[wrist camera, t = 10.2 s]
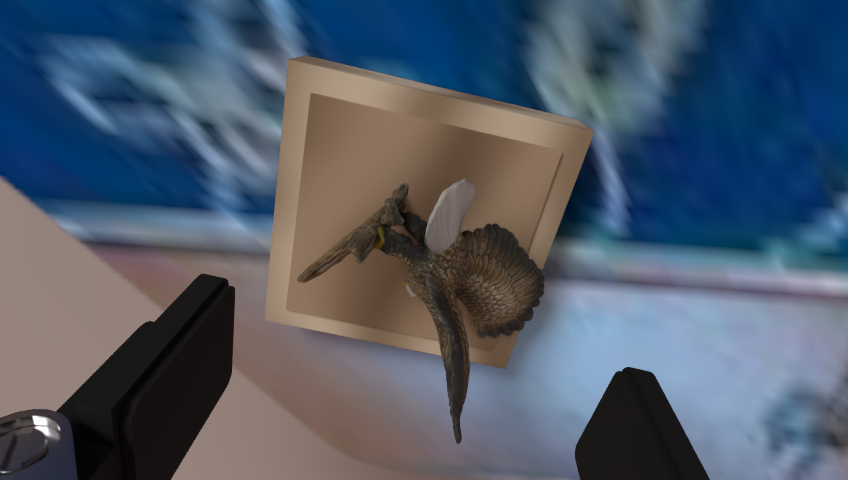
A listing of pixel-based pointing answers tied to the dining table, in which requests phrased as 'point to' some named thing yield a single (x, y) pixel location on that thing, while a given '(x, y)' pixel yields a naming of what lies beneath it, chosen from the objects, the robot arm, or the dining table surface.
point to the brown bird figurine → (450, 274)
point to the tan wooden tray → (427, 178)
